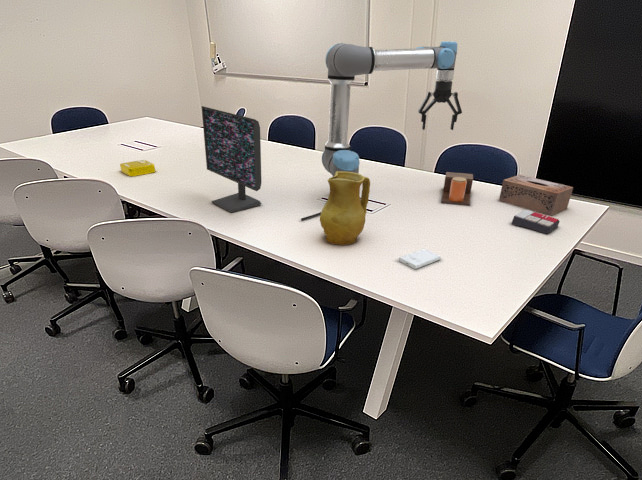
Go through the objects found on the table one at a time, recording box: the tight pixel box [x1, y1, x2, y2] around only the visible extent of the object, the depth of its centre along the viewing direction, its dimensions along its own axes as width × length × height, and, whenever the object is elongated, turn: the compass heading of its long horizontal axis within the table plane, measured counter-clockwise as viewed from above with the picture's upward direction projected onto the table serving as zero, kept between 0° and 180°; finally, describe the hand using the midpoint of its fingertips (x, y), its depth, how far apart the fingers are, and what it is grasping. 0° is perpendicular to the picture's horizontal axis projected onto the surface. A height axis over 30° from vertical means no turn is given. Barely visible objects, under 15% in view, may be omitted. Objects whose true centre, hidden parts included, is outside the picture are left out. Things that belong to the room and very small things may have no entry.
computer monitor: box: [201, 105, 262, 213], centre depth 196 cm, size 44×16×40 cm, turn 40°
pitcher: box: [319, 171, 371, 246], centre depth 167 cm, size 17×19×25 cm
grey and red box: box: [511, 209, 561, 235], centre depth 184 cm, size 11×4×15 cm
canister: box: [449, 177, 467, 202], centre depth 208 cm, size 7×7×10 cm
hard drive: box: [398, 248, 442, 270], centre depth 157 cm, size 2×8×12 cm
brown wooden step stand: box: [440, 171, 474, 207], centre depth 215 cm, size 24×13×8 cm, turn 164°
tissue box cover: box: [498, 174, 574, 217], centre depth 205 cm, size 26×14×10 cm, turn 39°
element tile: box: [119, 159, 156, 177], centre depth 251 cm, size 15×15×5 cm
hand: (437, 129), depth 214 cm, fingers open, 13 cm apart
